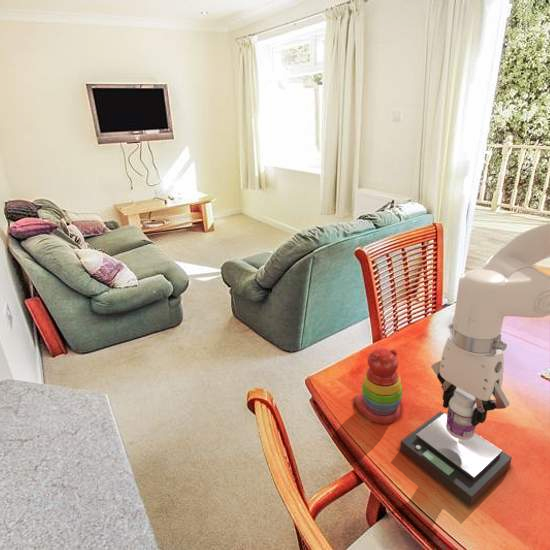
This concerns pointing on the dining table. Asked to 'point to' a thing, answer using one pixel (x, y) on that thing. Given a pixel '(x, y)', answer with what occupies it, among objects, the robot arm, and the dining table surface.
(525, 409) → the dining table surface
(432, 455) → the scale
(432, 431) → the weighing pan
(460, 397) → the pill bottle
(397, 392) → the stacking bear
